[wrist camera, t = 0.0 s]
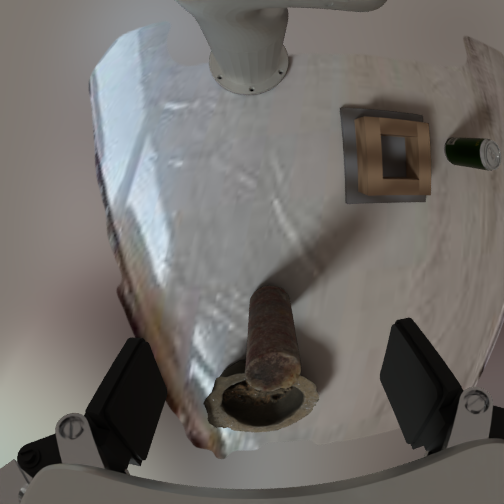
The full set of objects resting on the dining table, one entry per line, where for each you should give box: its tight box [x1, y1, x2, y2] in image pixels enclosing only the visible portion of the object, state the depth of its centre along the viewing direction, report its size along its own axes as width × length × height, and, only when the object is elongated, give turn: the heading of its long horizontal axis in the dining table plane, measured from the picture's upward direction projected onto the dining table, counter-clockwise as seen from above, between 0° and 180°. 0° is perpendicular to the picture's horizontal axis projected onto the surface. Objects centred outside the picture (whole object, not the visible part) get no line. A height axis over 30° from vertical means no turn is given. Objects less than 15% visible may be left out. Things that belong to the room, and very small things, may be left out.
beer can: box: [444, 138, 501, 171], centre depth 34 cm, size 5×5×12 cm
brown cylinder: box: [245, 286, 301, 391], centre depth 41 cm, size 8×7×20 cm
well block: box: [340, 108, 431, 204], centre depth 38 cm, size 16×16×6 cm
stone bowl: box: [204, 360, 319, 432], centre depth 54 cm, size 25×25×9 cm
